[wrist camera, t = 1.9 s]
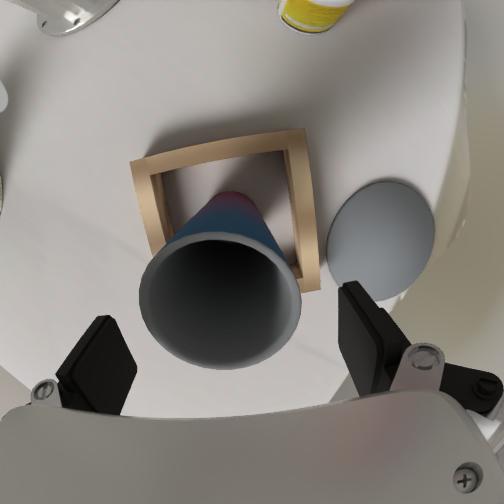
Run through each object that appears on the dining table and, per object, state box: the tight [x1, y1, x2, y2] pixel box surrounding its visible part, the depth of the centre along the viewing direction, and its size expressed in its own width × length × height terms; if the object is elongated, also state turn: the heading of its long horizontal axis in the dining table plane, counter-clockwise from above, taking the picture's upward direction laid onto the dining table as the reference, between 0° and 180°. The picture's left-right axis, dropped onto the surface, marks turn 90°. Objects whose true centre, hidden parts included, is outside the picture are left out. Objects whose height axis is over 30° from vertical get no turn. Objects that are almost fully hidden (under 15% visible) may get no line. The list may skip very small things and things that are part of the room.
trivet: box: [326, 182, 434, 302], centre depth 26 cm, size 13×13×1 cm
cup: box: [139, 192, 302, 370], centre depth 18 cm, size 7×7×15 cm
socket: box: [130, 129, 321, 293], centre depth 24 cm, size 14×14×3 cm
